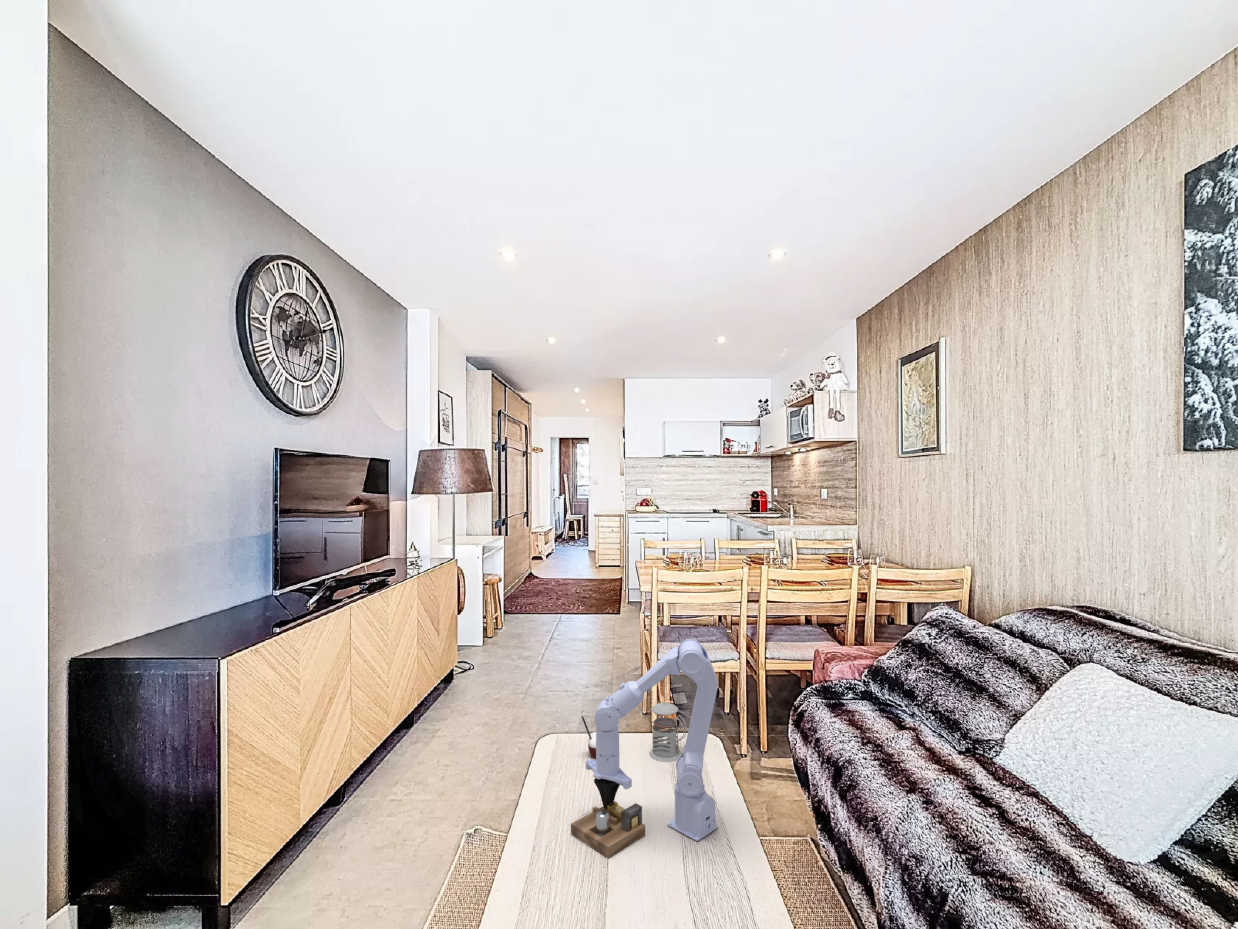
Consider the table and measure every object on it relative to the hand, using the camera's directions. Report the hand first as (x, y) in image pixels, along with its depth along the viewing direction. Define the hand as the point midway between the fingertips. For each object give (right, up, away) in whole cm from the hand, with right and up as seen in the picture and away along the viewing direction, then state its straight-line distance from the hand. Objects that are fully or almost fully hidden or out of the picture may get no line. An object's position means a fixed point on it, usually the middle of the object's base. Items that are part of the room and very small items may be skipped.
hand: (608, 807), depth 153 cm
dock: (0, -4, -5) cm, 6 cm away
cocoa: (-4, -4, +35) cm, 36 cm away
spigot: (-1, -4, -7) cm, 8 cm away
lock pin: (+4, -1, -4) cm, 5 cm away
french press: (+17, -4, +35) cm, 39 cm away
